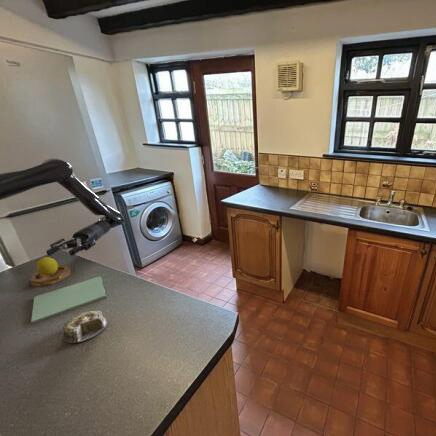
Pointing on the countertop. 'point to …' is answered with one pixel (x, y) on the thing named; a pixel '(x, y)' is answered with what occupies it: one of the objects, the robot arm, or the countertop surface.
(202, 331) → the countertop surface
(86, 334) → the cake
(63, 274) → the holder
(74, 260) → the countertop surface
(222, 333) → the countertop surface
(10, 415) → the countertop surface
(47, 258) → the lemon
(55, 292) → the mat
